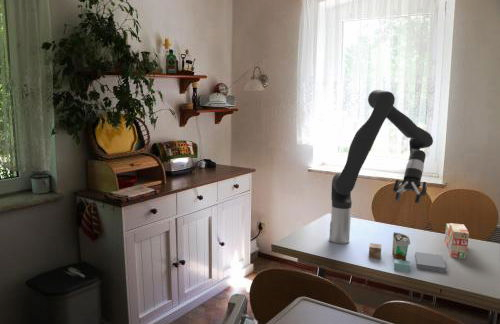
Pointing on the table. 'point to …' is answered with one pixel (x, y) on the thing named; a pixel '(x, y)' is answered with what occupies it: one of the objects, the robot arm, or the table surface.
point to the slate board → (430, 262)
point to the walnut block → (375, 251)
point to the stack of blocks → (456, 240)
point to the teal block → (401, 265)
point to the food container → (400, 246)
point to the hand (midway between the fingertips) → (406, 202)
